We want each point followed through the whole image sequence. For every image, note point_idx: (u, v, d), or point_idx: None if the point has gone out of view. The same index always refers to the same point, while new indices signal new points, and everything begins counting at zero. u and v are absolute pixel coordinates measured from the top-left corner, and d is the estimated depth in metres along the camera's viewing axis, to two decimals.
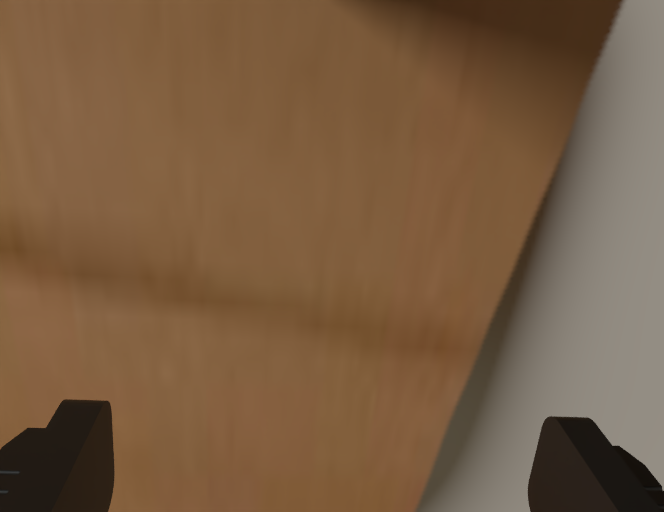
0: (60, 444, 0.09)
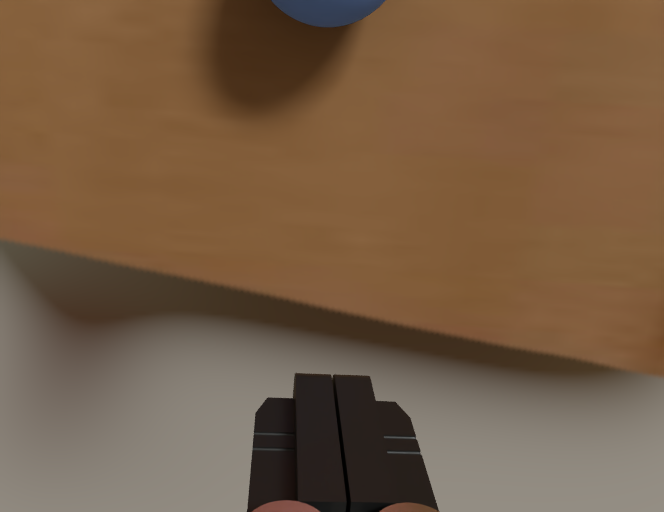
0: (316, 409, 0.11)
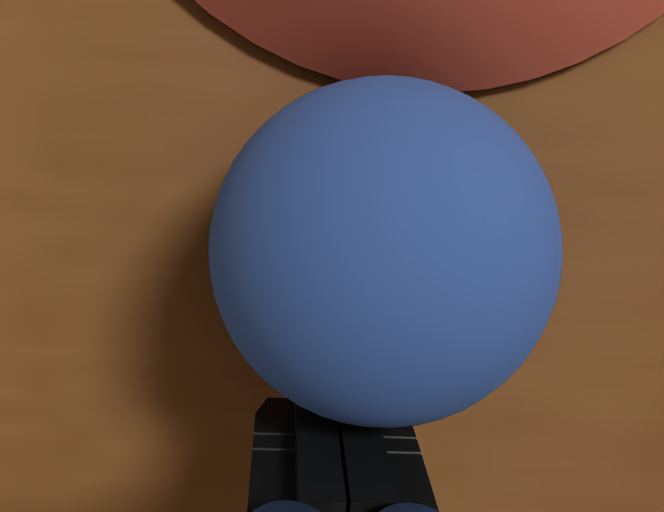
0: None
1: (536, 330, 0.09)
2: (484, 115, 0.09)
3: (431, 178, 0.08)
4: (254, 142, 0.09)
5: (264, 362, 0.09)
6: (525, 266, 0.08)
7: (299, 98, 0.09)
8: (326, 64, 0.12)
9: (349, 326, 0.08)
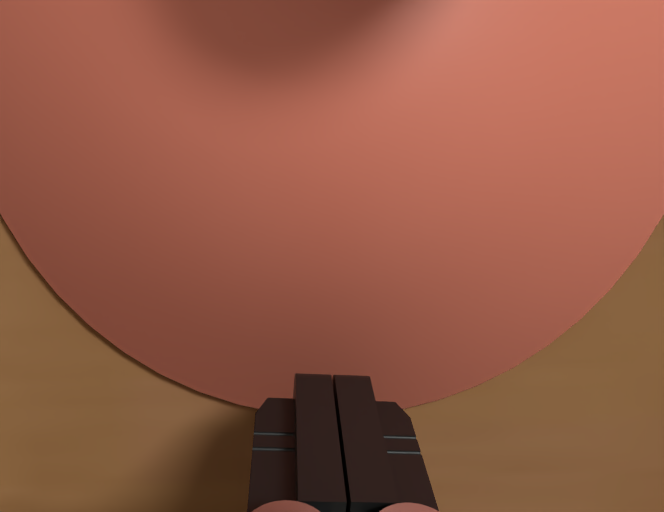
0: (316, 409, 0.11)
1: None
2: None
3: None
4: None
5: None
6: None
7: None
8: (263, 397, 0.14)
9: None
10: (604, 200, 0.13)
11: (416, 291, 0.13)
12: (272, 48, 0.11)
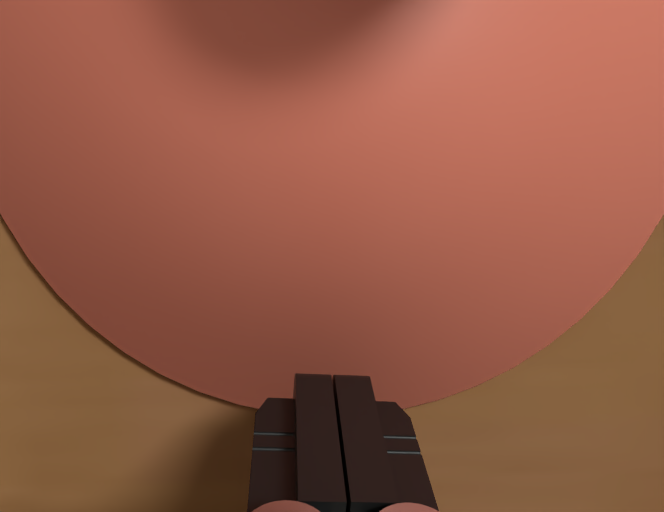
0: (316, 409, 0.11)
1: None
2: None
3: None
4: None
5: None
6: None
7: None
8: (263, 397, 0.14)
9: None
10: (604, 200, 0.13)
11: (416, 291, 0.13)
12: (272, 48, 0.11)
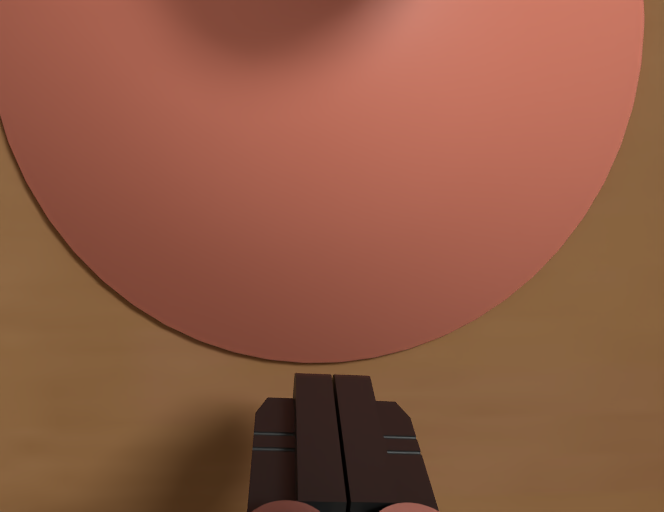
0: (316, 409, 0.11)
1: None
2: None
3: None
4: None
5: None
6: None
7: None
8: (255, 346, 0.16)
9: None
10: (552, 169, 0.14)
11: (389, 250, 0.15)
12: (262, 35, 0.13)
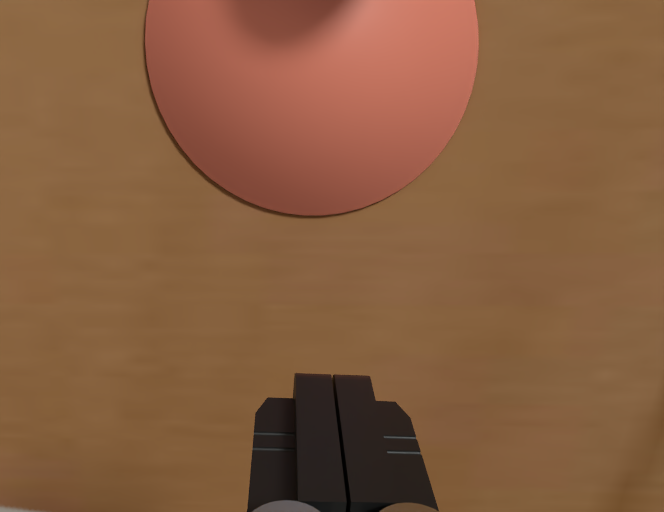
0: (316, 409, 0.11)
1: None
2: None
3: None
4: None
5: None
6: None
7: None
8: (275, 206, 0.28)
9: None
10: (435, 104, 0.27)
11: (349, 149, 0.28)
12: (281, 32, 0.26)
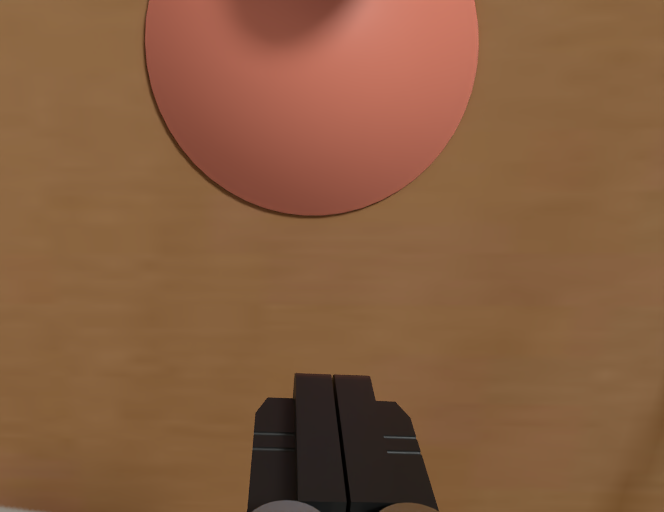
0: (316, 409, 0.11)
1: None
2: None
3: None
4: None
5: None
6: None
7: None
8: (275, 206, 0.28)
9: None
10: (435, 104, 0.27)
11: (349, 149, 0.28)
12: (281, 32, 0.26)
